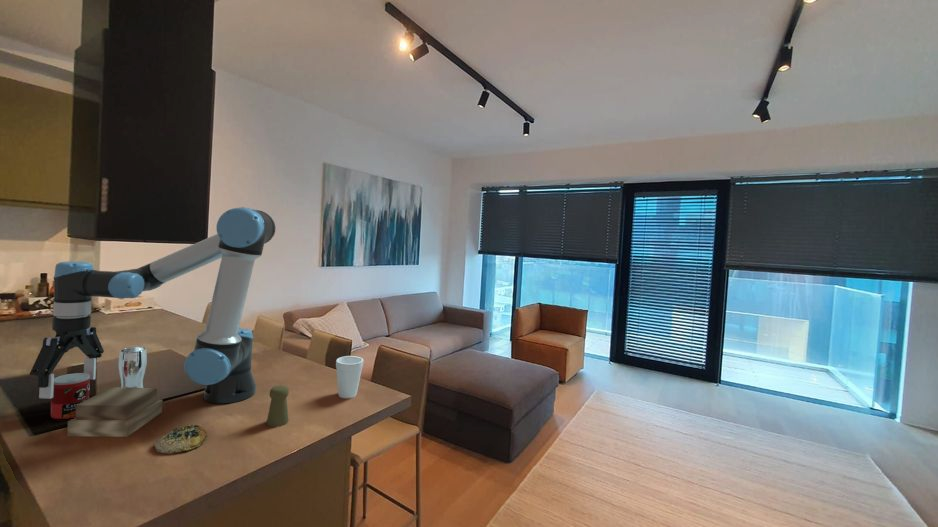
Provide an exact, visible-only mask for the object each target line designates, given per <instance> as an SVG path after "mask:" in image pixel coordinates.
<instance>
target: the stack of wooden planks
mask: <svg viewBox="0 0 938 527" xmlns="http://www.w3.org/2000/svg"><path fill="white" fill-rule="evenodd" d="M157 398H158V388H157V387H143V388H127V387H121V386H112V387H110V388H107V389H106V390H104V391H101V392H100V393H98V394H96V395H94V396H92V397H89V399H87V400H85V401H83V402H81V403H79V404H77V405H76V417H75V418H74V419H69V420H67V437H108V438H109V437H110V438H111V437H112V438H113V437H114V438H115V437H116V438H117V437H121V438H123V437H126V438H128V437H129V436H131V435H132V434H133V433H135V432H136V431H138V430H140V428H142V427H143V426H144V425H146V424H148V423H149V422H151V421H152V420H153V419H155V418H157V417H158V416H159V415H161V414H162V413H163V403H164V402H163V399H157Z"/></svg>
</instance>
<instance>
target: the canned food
mask: <svg viewBox="0 0 938 527" xmlns="http://www.w3.org/2000/svg"><path fill="white" fill-rule="evenodd" d="M90 382H91V380H90V376H89V374H86V373H84V372H80V373H79V372H75V373H69V374H63V375H59V376H57V377H54V390H53V398H51V399H50V417H51V419H52V418H54V419H69V418H75V417H76V405H77V404H79V403H81V402H83V401H85V400H87V399H89V398H90V390H91V389H90V386H91V385H90V384H91V383H90ZM54 419H53V420H54ZM69 420H70V419H69Z"/></svg>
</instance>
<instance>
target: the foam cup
mask: <svg viewBox="0 0 938 527" xmlns="http://www.w3.org/2000/svg"><path fill="white" fill-rule="evenodd" d="M363 367H364V359H363V357H360V356H355V355H345V356H341V357H338V358H336V361H335V369H336V379H337V389H338V390H337V392H338V397H339V398H341V399H352V398H355V397H356V396H357V394H358V389H359V385H360V379H361V376H362V375H361V374H362V369H363Z"/></svg>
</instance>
